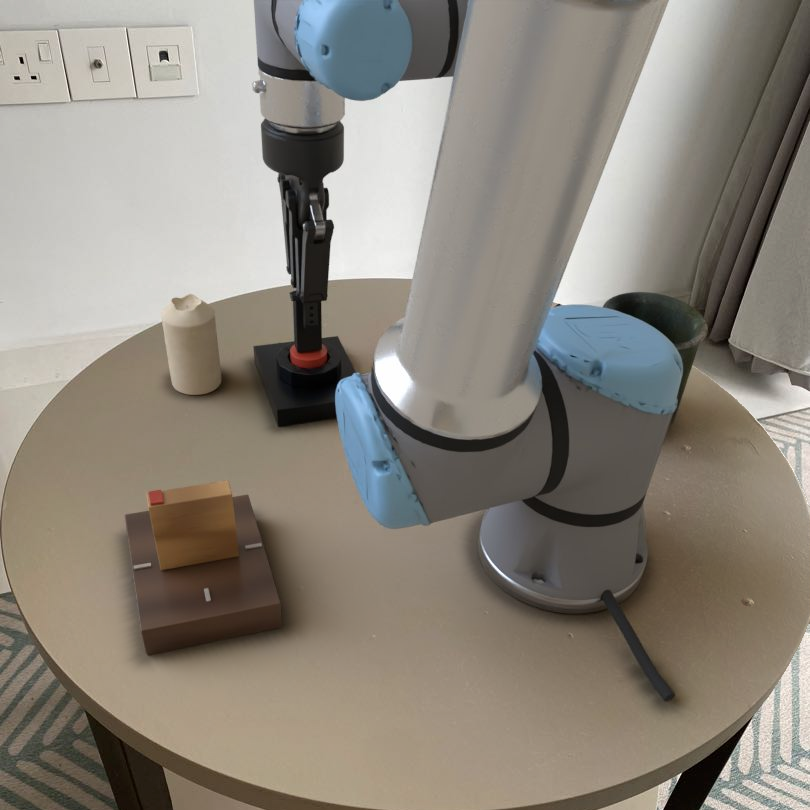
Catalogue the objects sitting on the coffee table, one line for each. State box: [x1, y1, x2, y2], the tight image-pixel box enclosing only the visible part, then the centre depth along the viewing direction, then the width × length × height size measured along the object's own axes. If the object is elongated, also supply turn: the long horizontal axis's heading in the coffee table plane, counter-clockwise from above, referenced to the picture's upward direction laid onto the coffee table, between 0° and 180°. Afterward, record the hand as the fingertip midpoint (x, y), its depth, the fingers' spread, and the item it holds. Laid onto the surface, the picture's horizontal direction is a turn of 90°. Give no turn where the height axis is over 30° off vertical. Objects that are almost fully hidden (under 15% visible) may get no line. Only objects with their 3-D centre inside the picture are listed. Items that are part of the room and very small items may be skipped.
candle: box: [160, 293, 222, 396], centre depth 94 cm, size 6×6×10 cm
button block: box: [253, 335, 357, 428], centre depth 97 cm, size 13×10×4 cm
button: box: [290, 344, 327, 368], centre depth 96 cm, size 4×4×2 cm
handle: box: [145, 480, 239, 570], centre depth 71 cm, size 6×2×7 cm, turn 108°
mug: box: [602, 291, 709, 430], centre depth 92 cm, size 11×15×12 cm
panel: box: [124, 494, 283, 656], centre depth 75 cm, size 14×11×3 cm
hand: (308, 347), depth 95 cm, fingers closed
